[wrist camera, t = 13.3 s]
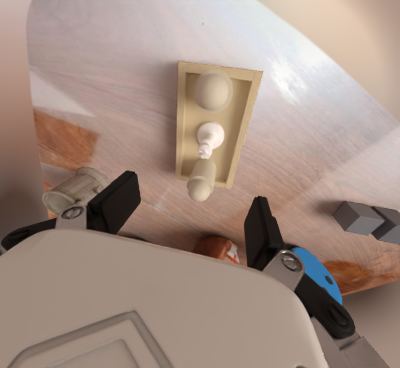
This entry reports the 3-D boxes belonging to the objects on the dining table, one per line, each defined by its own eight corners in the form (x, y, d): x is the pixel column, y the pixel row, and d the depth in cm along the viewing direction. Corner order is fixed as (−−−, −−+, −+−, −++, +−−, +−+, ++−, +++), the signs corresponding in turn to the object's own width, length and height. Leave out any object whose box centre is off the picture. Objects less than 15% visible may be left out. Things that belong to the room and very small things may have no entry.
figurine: (239, 263, 50) (242, 322, 38) (192, 252, 51) (181, 306, 38) (253, 237, 42) (264, 300, 29) (198, 224, 43) (185, 281, 30)
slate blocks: (345, 200, 31) (363, 219, 27) (396, 210, 31) (423, 230, 26) (332, 215, 34) (347, 234, 30) (379, 224, 33) (401, 245, 29)
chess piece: (214, 153, 29) (209, 179, 21) (193, 139, 29) (178, 161, 20) (229, 131, 27) (230, 151, 18) (206, 115, 26) (195, 129, 18)
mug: (92, 199, 44) (52, 232, 34) (69, 170, 39) (15, 199, 30) (132, 193, 40) (101, 229, 30) (112, 160, 36) (67, 190, 26)
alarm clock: (269, 248, 43) (285, 313, 31) (286, 237, 40) (311, 306, 28) (304, 266, 45) (333, 334, 33) (323, 257, 42) (363, 329, 29)
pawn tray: (182, 63, 23) (153, 49, 14) (260, 72, 22) (281, 64, 13) (178, 173, 34) (160, 204, 26) (230, 183, 34) (231, 218, 25)
